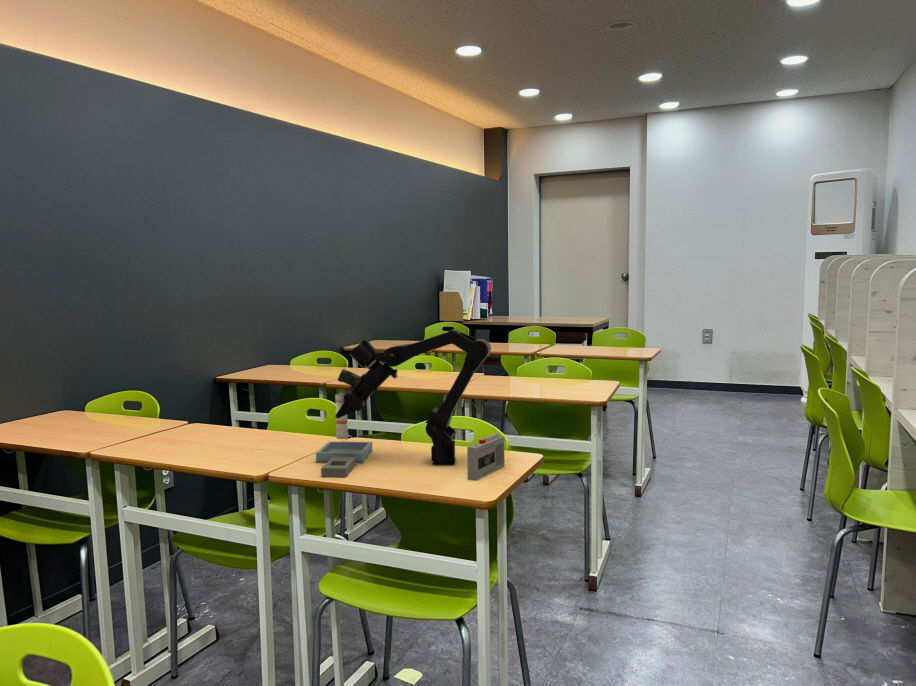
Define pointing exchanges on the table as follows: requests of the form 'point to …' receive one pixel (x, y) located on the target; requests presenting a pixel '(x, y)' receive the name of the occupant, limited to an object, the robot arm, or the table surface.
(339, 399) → the cup
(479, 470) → the cassette player
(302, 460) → the table surface
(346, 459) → the block
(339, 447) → the tray
